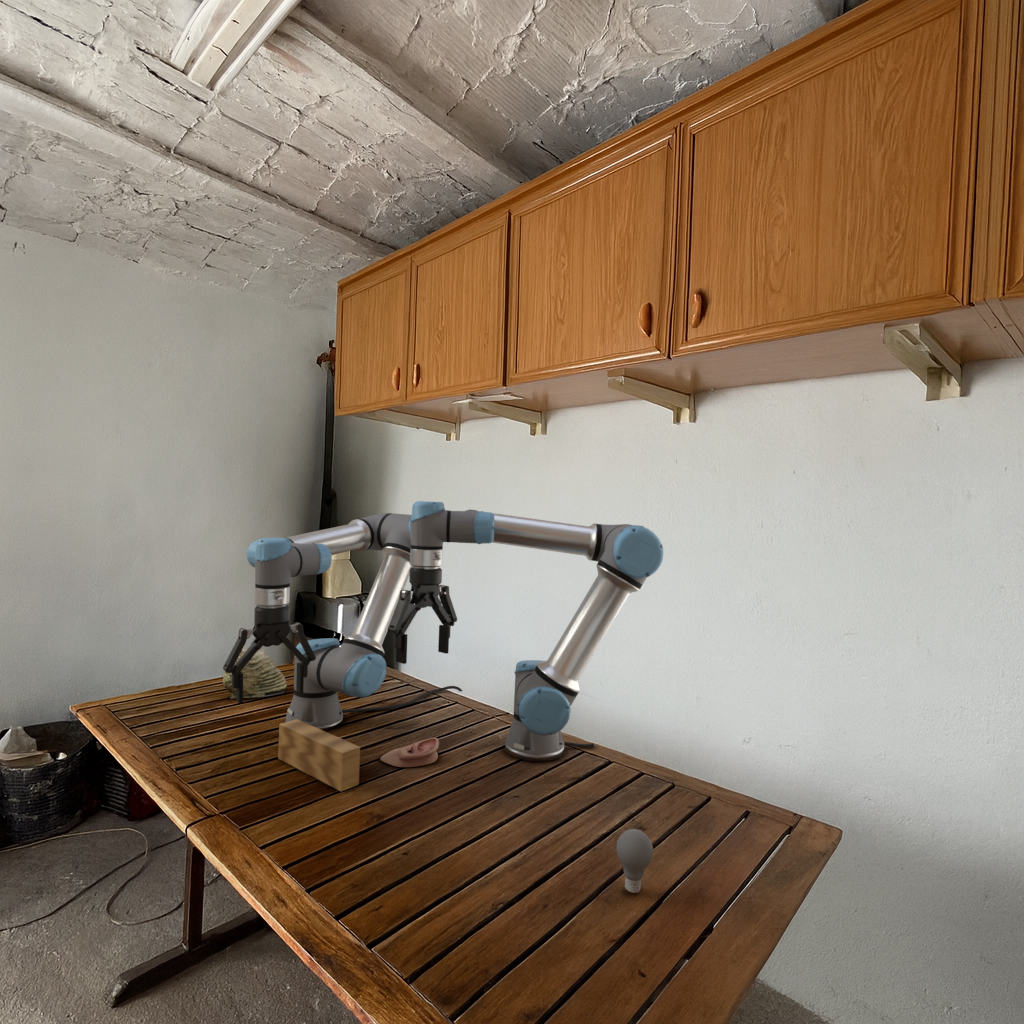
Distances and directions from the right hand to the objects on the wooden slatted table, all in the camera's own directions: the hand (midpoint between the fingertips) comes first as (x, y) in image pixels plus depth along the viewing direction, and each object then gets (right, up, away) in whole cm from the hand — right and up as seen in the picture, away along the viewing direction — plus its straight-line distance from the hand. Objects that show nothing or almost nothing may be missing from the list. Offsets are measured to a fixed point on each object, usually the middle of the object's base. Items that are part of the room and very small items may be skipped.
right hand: (423, 657), depth 149 cm
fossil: (-60, -23, +49) cm, 81 cm away
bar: (-24, -26, -3) cm, 35 cm away
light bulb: (+41, -29, -43) cm, 66 cm away
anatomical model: (-4, -26, +6) cm, 27 cm away
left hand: (-35, -9, -2) cm, 36 cm away
